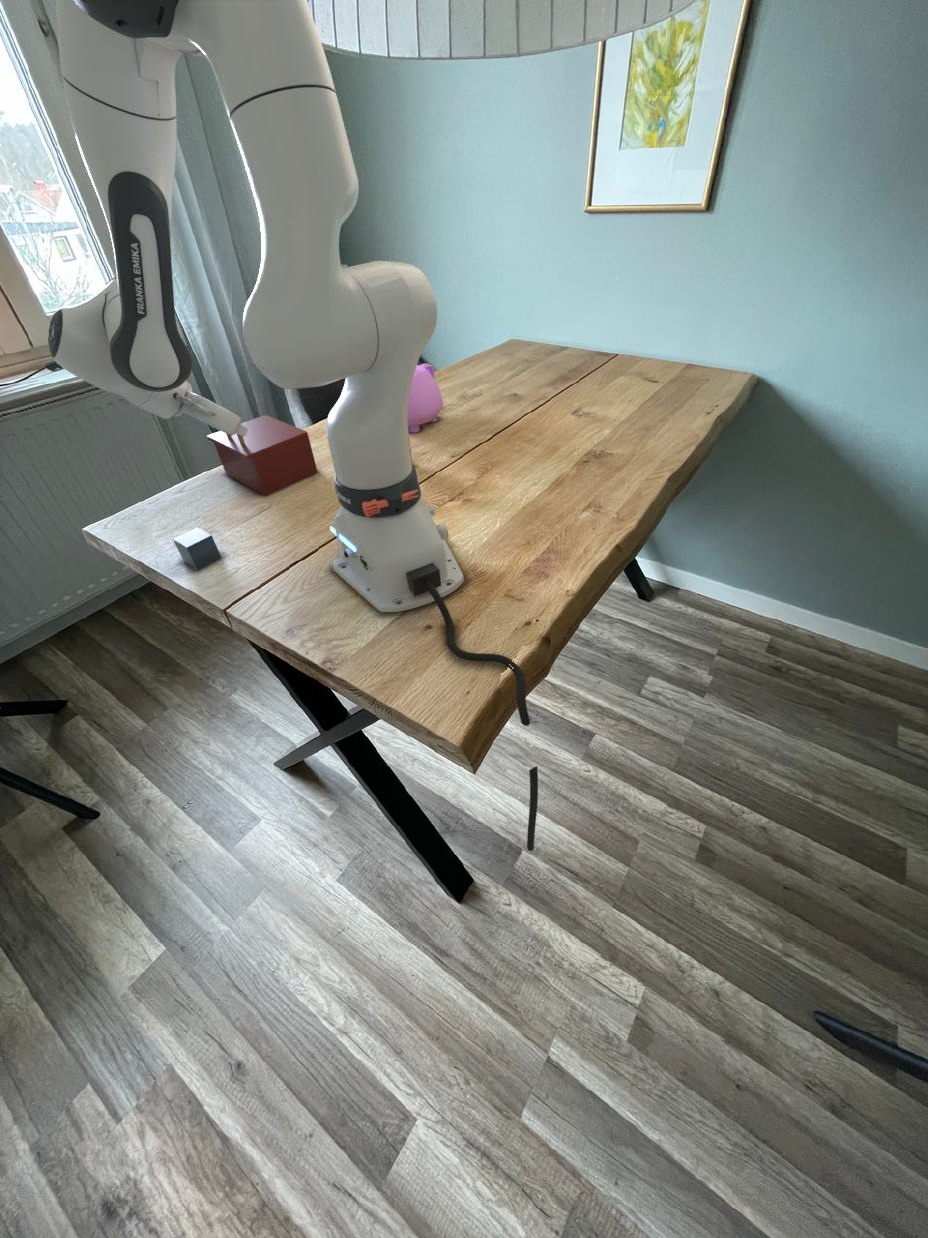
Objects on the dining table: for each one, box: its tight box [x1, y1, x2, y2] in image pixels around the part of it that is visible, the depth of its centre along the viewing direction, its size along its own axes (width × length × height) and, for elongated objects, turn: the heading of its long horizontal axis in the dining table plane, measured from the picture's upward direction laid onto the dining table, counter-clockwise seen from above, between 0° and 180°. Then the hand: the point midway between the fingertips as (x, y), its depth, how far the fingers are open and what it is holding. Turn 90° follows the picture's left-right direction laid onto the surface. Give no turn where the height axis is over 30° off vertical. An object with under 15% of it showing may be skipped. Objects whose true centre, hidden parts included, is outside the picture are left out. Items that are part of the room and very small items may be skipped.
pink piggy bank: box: [407, 363, 444, 433], centre depth 121 cm, size 22×16×14 cm
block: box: [172, 526, 222, 571], centre depth 85 cm, size 4×4×4 cm
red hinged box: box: [213, 435, 319, 497], centre depth 107 cm, size 13×16×8 cm
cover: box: [206, 414, 309, 459], centre depth 103 cm, size 14×16×5 cm
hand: (234, 427), depth 100 cm, fingers closed on cover, 6 cm apart
